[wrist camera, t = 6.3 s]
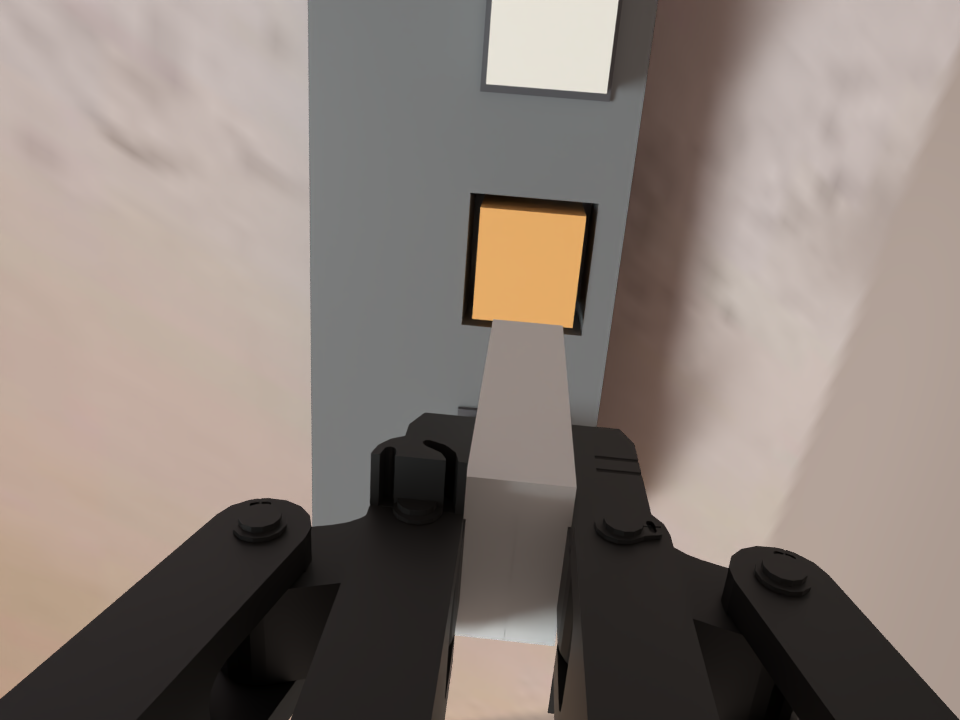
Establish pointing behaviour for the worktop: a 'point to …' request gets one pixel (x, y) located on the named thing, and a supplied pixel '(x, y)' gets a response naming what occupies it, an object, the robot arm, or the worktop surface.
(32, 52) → the worktop surface
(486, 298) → the button orange
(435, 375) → the grey button panel
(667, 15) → the worktop surface
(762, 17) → the worktop surface
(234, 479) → the worktop surface
